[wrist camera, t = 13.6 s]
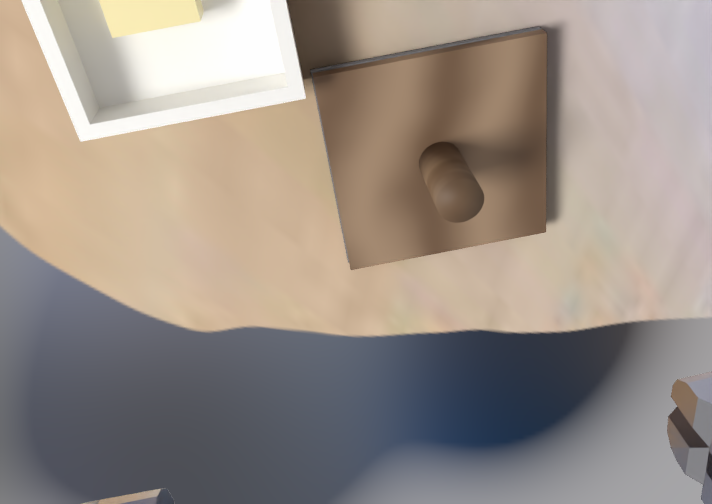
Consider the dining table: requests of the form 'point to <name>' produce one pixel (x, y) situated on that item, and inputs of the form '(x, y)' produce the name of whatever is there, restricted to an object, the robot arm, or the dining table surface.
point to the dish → (165, 59)
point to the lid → (438, 147)
